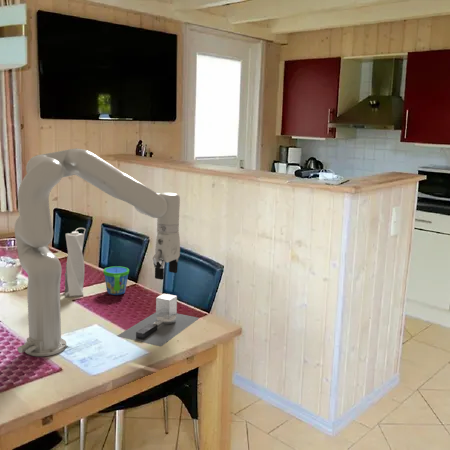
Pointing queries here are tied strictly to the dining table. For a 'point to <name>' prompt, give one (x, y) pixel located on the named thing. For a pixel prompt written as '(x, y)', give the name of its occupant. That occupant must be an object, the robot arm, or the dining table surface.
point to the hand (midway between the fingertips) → (166, 275)
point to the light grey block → (166, 306)
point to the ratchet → (154, 327)
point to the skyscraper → (74, 264)
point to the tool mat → (162, 333)
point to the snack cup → (116, 279)
